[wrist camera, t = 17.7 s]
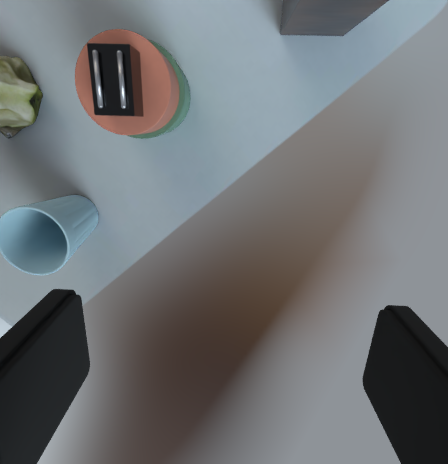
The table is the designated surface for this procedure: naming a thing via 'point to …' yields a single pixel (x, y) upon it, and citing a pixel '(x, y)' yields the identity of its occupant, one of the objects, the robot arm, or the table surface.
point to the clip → (115, 79)
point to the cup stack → (153, 88)
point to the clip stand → (325, 16)
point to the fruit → (17, 96)
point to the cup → (46, 233)
